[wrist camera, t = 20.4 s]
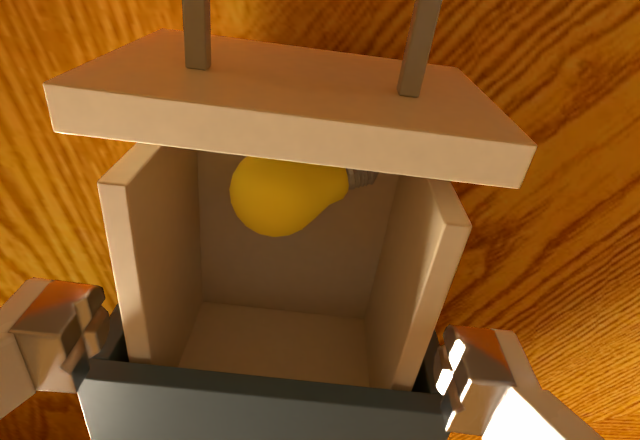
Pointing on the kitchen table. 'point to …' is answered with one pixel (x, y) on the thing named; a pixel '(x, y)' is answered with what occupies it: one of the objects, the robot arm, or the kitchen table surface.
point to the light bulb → (288, 192)
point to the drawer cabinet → (247, 403)
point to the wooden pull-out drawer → (314, 239)
